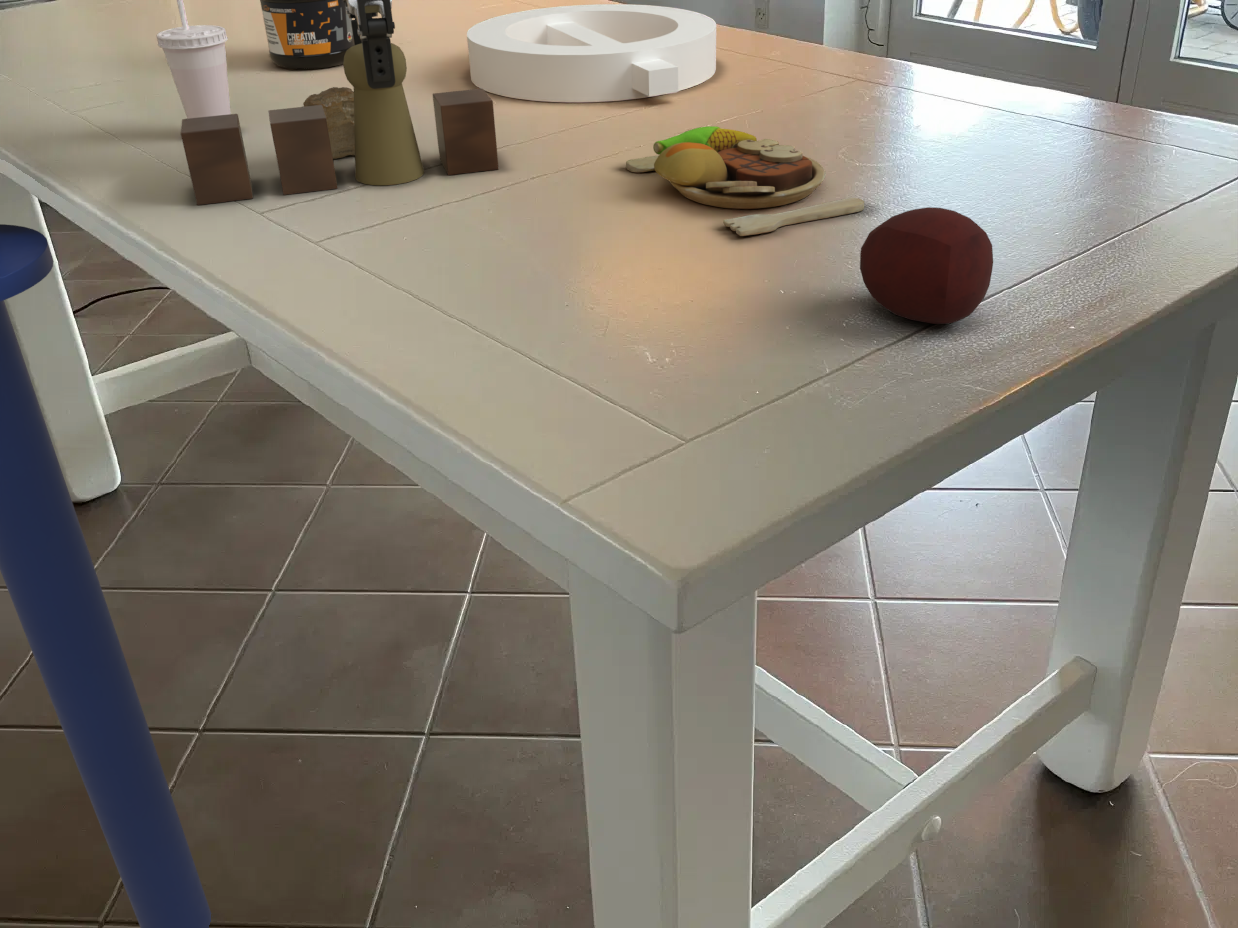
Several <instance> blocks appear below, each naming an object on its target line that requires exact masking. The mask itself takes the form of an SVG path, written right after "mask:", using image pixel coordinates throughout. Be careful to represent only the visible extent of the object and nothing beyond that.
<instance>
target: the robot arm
mask: <svg viewBox="0 0 1238 928" xmlns="http://www.w3.org/2000/svg"><path fill="white" fill-rule="evenodd" d="M343 2H344V3H345V5H346V7H347V8H346V13H347V14H348V16H349V19H352V20H351V25H352V33H353V40H354V45H357V44H361V43H362V48H363V56H364V63H365V70H366V78H367V83H368V85H369V87H371V88H372V89H379V88H389V87H393V86H394V85H395V73H394V65H393V57H392V49H391V43H392V42H391V38H393V35H394V34H395V30H396V24H395V21H394V20H393V13H392V8H393V0H343ZM379 14H380V17H378V16H379Z"/></svg>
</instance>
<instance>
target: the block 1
mask: <svg viewBox="0 0 1238 928" xmlns="http://www.w3.org/2000/svg"><path fill="white" fill-rule="evenodd" d="M242 133H243V132H242V130H241V123H240V119H239V114H238V113H231V114H228V115H219V116H209V117H199V118H189V119H187V118H182V119H181V126H180V137H181V141H182V145H183V150H184V154H185V159H186V162H187V167H188V172H189V176H190V181H191V185H192V189H193V194H194V197H195V198H194V199H195V202H196V205H197V206H202V205H210V204H218V203H219V204H220V203H226V202H235V201H243V200H252V199H253V198H254V195H253V183H252V182H253V181H252V178H251V173H250V167H249V163H248V158H247V153H246V148H245V143H244V139H243V134H242Z"/></svg>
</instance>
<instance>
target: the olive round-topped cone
mask: <svg viewBox="0 0 1238 928" xmlns="http://www.w3.org/2000/svg"><path fill="white" fill-rule="evenodd" d="M391 49H392V57H393V65H394V73H395V85H394V86H393V87H389V88H379V89H372V88H371V87H369V85H368V83H367V78H366V70H365V63H364V56H363V48H362V43H361V44H357V45H354V46H352V47H350V48H349V49H348V50H347V51H346V53H345V56H344V64H342V65H343V72H344V75H345V78H346V80H347V82H348V83H349V84H350V85H351V86H352V87H353V92H354V132H355V155H354V171H355V173H354V174H355V175H354V176H355V180H356V181H357V182H359V183H362V184H364V185H370V186H393V185H401V184H407V183H409V182H413V181H415V180H417V179H420V178H421V177H423V176H424V174H425V167H424V164H423V160H422V156H421V152H420V148H419V145H418V140H417V137H416V133H415V130H414V125H413V120H412V117H411V113H410V108H409V105H408V100H407V97H406V94H405V89H404V86H403V82H404V80H405V79H406V76H407V71H408V70H407V69H408V68H407V59H406V57H405V53H404V51H403V49H402V48H401V47H400V46H399V45H396V44H395V43H392V42H391Z"/></svg>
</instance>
